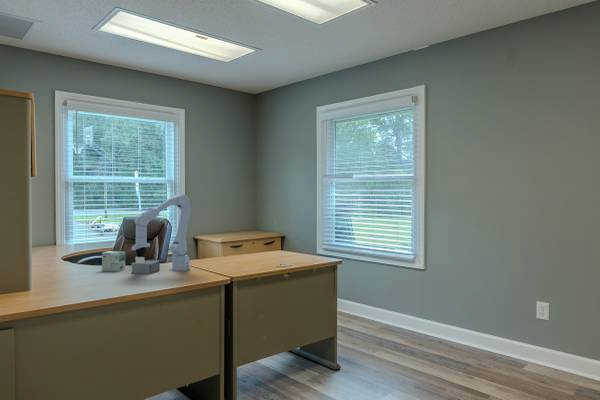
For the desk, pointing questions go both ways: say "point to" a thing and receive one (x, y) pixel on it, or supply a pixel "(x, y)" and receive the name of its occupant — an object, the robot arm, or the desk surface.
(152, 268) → the carton
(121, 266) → the light bulb box
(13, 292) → the desk surface
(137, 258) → the carton flap
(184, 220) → the robot arm
